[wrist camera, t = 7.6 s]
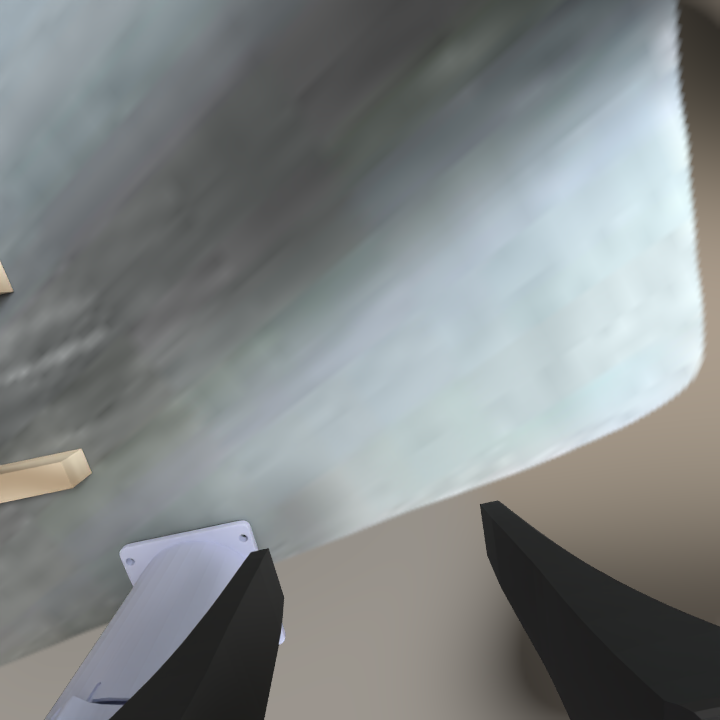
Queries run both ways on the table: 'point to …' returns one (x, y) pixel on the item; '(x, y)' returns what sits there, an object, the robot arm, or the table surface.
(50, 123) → the table surface
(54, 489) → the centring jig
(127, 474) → the table surface
